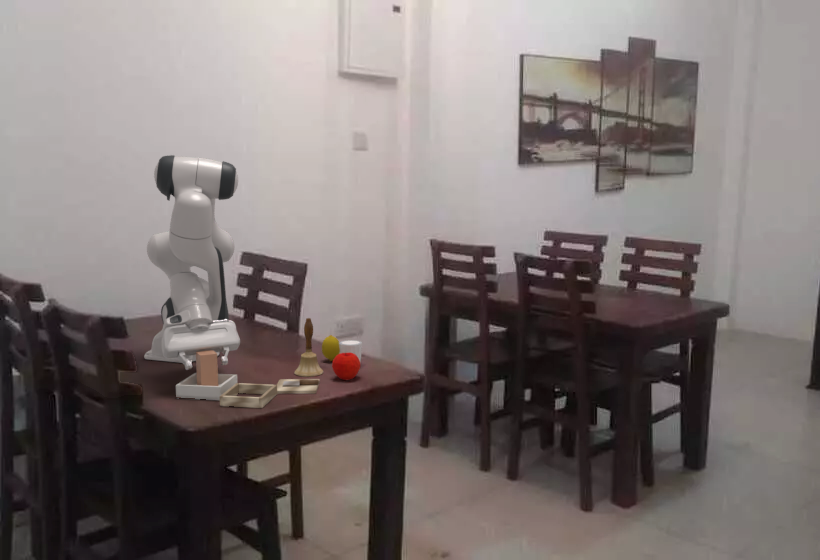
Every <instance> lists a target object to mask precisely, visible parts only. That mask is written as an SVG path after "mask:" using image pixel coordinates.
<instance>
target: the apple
mask: <svg viewBox="0 0 820 560" xmlns="http://www.w3.org/2000/svg"><path fill="white" fill-rule="evenodd" d="M331 362H332V364H331V368H332V371H333V372H334V374H335V375H336V377H338V378H339V379H340V380H343V381H349V380H353V379H354V378H355V377H356V376H357V375H358V373H359V371H360V369H361V365H360V360H359V358H358V357H357V356H356V355H355V354H353V353H339V354H338V355H337V356H336V357H335V358H334V359H333V361H331Z"/></svg>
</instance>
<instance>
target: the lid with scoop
mask: <svg viewBox="0 0 820 560" xmlns="http://www.w3.org/2000/svg"><path fill="white" fill-rule="evenodd" d="M278 379H279V378H278ZM320 381H321V379H320V378H303V379H301V378H293V379H291V378H288V379H287V378H286V379H285V378H283V379H282V378H281V379H279V380H278V382H276V385H277V395H279V394H282V395H283V394H285V395H291V394H294V395H295V394H300V395H301V394H304V395H305V394H308V395H309V394H311V395H312V394H317V391H318V389H319V385H320V383H321V382H320Z"/></svg>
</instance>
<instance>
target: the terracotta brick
mask: <svg viewBox="0 0 820 560" xmlns="http://www.w3.org/2000/svg"><path fill="white" fill-rule="evenodd" d="M195 362H196V363H195V366H196V367H195V368H196V370H195V371H196V373H197V385H203V386H218V374H219V371H218V370H219V369H218V368H219V367H218V356H217V353H216V352H214V351H213V350H207V351H199V352H196V361H195Z"/></svg>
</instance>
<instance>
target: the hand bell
mask: <svg viewBox="0 0 820 560" xmlns="http://www.w3.org/2000/svg"><path fill="white" fill-rule="evenodd" d="M313 325H314V324H313V322H312V318H311V317H307V318H306V319H305V323H304V327H303V333H304V338H305V352H304V353H301V354H300V361H299V365H298V366H297V368H296V369H294V375H296V376H299V377H306V378H309V377H318V376H321V375H323V374H324V370H323V368H321V367H320V365H319V362H318V357H317V353H314V352H313V351H312V349H313V347H312V345H313V344H312V340H313V339H312V338H313V335H314V326H313Z"/></svg>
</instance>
